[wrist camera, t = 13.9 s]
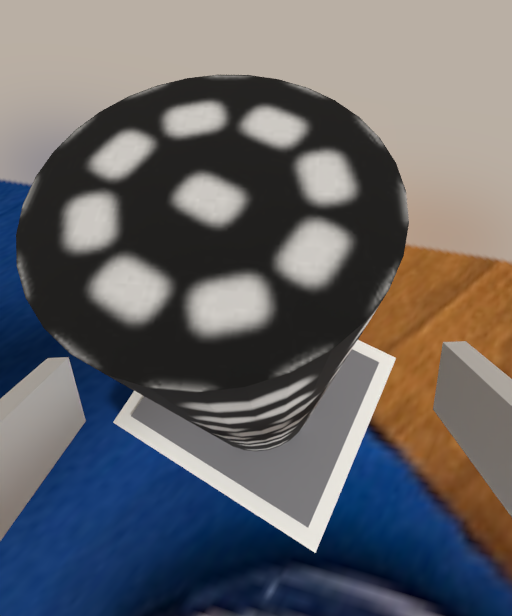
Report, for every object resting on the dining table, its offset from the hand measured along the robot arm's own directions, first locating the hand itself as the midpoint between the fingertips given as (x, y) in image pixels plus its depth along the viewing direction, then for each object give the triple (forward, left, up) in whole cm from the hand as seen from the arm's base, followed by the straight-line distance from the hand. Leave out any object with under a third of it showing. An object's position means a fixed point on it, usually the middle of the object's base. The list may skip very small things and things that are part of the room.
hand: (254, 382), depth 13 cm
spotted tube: (-2, +2, -13) cm, 14 cm away
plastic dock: (-2, +2, -17) cm, 17 cm away
